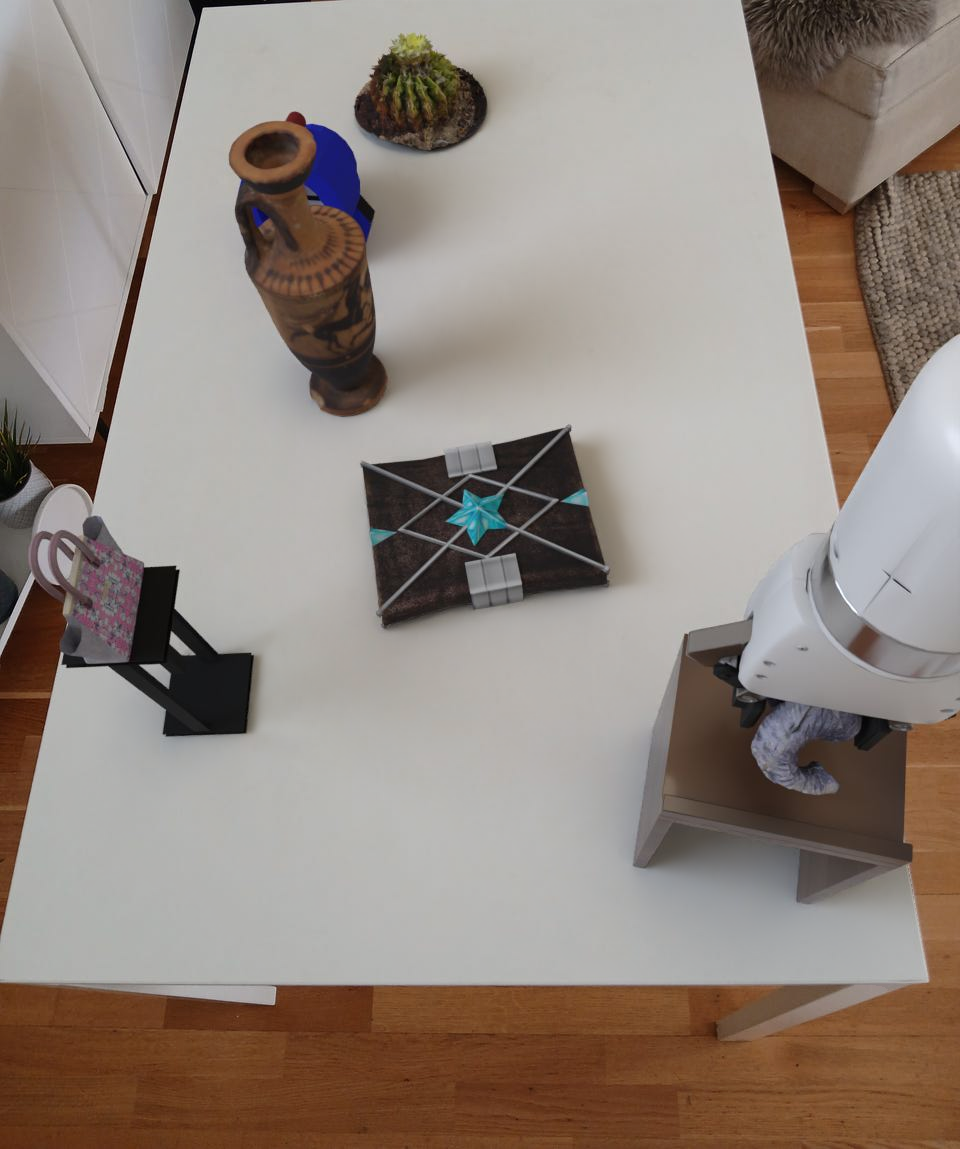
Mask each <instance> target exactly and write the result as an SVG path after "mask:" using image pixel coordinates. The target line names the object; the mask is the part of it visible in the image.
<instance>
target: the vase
mask: <svg viewBox="0 0 960 1149" xmlns="http://www.w3.org/2000/svg"><path fill="white" fill-rule="evenodd" d="M316 148H317V145H316V142H315V141H314V139H313V135H312V133H311V132H310V131H309V130H307V128H305V127H303V126H301V125H298V124H295V123H292V122H288V121H285V120H271V121H265V122H260V123H258V124H255V125H254V126H252V127H250V128H248V129H246V130H245V131H243V132H242V133H241V134H240V135H239V136H237V138H236V139H235V140H234V141H233V142H232V144H231V145H230V149H229V153H228V165H229V166H230V168H231V170H232V171H233V173H234V174H235V175H236V176H237V177H238V178H239V179H240V181H241V180H242V181H243V183H242V185H241V187H240V186H239V187H240V189H239V188H238V191H239V192H238V191H237V196H236V201H235V205H234V218H235V220H236V223H237V225H238V228H239V233H240V235H241V238H242V240H243V243H244V246H245V249H244V265H245V271H246V274H247V276H248V277H249V279H250V281H251V282H252V284H253V285H254V288H255V289H256V291H257V292H258V295H259V297H260V299H261V301H262V302H263V305H264V306H265V309H266V310H267V312H268V314H269V316H270V318H271V320H272V323H273V324H274V326H275V328H276V330H277V332H278V334H279V336H280V337H281V339H282V340H283V342H284V344H285V345H286V347H287V348H288V349H289V351H290V352H291V354H292V355H293V356H294V357H295V358H296V360H298V361H299V362H300V364H301V365H302V366H303V367H304V368H305V369H307V370H308V371H309V372H311V374H310V378H309V384H308V385H309V393H310V397H311V399H313V400H314V401H316V402H317V404H318V405H319V407H320V410H321V411H322V412H325V413H328V414H330V415H333V416H339V417H348V416H354V415H358V414H361V413H364V412H365V411H368V410H370V409H371V408H373V407H374V406H376V404H378V402H379V401H380V400H381V399H382V397H383V396H384V393H385V391H386V389H387V385H388V374H387V370H386V368H385V366H384V364H383V363H382V361H381V359H380V358H379V357H378V356H377V355H376V354H374V349H375V342H376V333H377V317H376V307H375V306H376V305H375V299H374V292H373V285H372V278H371V273H370V268H369V262H368V253H367V242H365V236H364V233H363V231H362V229H361V227H360V225H359V224H358V223H357V221H356V220H355V219H354V218H352V217H351V216H350V215H348V214H347V213H345V212H343V211H342V210H340V209H337V208H334V207H330V206H325V205H309V203H308V199H307V195H306V192H305V187H304V183H305V182H306V181H307V179H308V178H309V176H310V174H311V172H312V169H313V165H314V161H315V156H316ZM252 207H255V208H257V209H259V210H261V211H263V212H264V213H265V214H266V215H267V216H268V217H269V219H267V220H266V221H265V222H264V223H263V224H262V225H261V226H259V227H258V226H257V225H256V223H255V220H254V215H253V210H252Z"/></svg>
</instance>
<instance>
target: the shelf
mask: <svg viewBox="0 0 960 1149" xmlns="http://www.w3.org/2000/svg"><path fill="white" fill-rule="evenodd" d="M688 635H689V633H684V635H683V638H682V641H681V644H680V646H679V649H678V652H677V656H676V658H675V662H674V664H673V668H672V670H671V672H670V676H669V679H668V683H667V685H666V688H665V691H664V694H663V697H662V700H661V703H660V706H659V709H658V712H657V715H656V718H655V721H654V723H653V726H652V733H651V740H650V747H649V753H648V760H647V768H646V772H645V773H646V775H645V780H644V788H643V795H642V800H641V808H640V813H639V814H640V815H639V821H638V828H637V833H636V841H635V848H634V849H635V850H634V855H633V860H632V866H633V867H635V868H639V869H646V867H647V865H648V864H649V862H650V861H651V859H652V858H653V856H654V854H655V853H656V851H657V849H658V847H659V846H660V844H661V842H662V841H663V840H664V837H665V836H666V835H667V833H668V831H669V829H670V828H671V826H672V825H673V823H674V824H675V823H676V824H680V825H685V826H690V827H694V828H699V829H703V830H709V831H714V832H718V833H723V834H729V835H733V836H738V837H742V838H747V839H752V840H758V841H761V842H765V843H766V842H767V843H771V844H776V845H781V846H785V847H789V848H795V849H799V859H798V874H797V885H796V898H795V899H796V900H795V901H796V903H798V904H799V903H800V904H804V905H810V904H813V903H816V902H818V901H820V900H823V899H825V898H827V897H831V896H833V895H834V894H837V893H839V892H842V891H844V890H847V889H850V888H852V887H854V886H857V885H859V884H862V883H864V882H866V881H869V880H871V879H874V878H876V877H879V876H881V875H883V874H885V873H888V872H891V871H894V870H897V869H898V868H901V867H903V866H905V865H908V864H911V863H912V862H913V855H914V854H913V853H914V845H913V844H912V843H908V842H904V840H905V814H906V813H905V810H906V778H907V749H908V745H907V744H908V731H898V730H893V731H892V732H890V733H889V734H888V735H887V736H885V737H884V738H883V739H882V740H881V741H879V742H878V743H877V744H876V745H875V746H874V747H872V748H871V749H870V750H869V751H864V750H858V749H857V747H855V746H854V737H853V738H852V739H851V740H848V741H845V742H840V743H831V742H826V741H825V740H821V739H817V740H811V741H810V742H807V743H805V746H804V747H803V748H799V750H798V752H797V755H798V761H797V765H798V766H802V767H804V766H808V764H809V763H810V761H815V762H820V763H821V765H822V766H823V768H824V770H825V771H826V772H828V773H829V774H830V775H831V776H832V777H833V778H834V779H836V780H837V781H838V783H839V784H840V786H839V788H838V790H837V792H836V793H835V794H832V793H829V794H822V795H813V794H806V793H802V792H799V791H797V790H794V789H788V788H786V787H784V786H782V785H780V784H778V783H776V784H775V783H774V782H773V781H771V780H770V779H768V778H767V777H766V776H765V774H764V773H763V771H762V770H761V768H760V767H759V765H758V762H757V760H756V758H755V757H754V756H753V754H752V750H751V745H752V741H753V739H754V737H755V735H756V733H757V731H758V728H759V726H760V724H761V723H762V721H764V718H765V716H766V715H768V714H770V711H771V707H770V705H769V703H768V700H767V702H766V708H765V711H764V712H763V714H762V715H761V717H760V718H759V720H758V721H757V722H756V724H755V725H754V727H750V729H748V728H742V727H740V718H741V709H742V708H738V707H732V694H733V686H731V685H730V684H728V683H726V682H724V681H723V680H720V679H719V678H718V677H716V676H715V675H713V668H712V667H705V666H704V665H702V664H700V663H698V662H696V661H695V660H693V659H691V658H689V657H688V656H686V650H687V642H688Z"/></svg>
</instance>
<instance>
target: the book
mask: <svg viewBox="0 0 960 1149" xmlns="http://www.w3.org/2000/svg"><path fill="white" fill-rule="evenodd" d="M571 432H572V425H571V424H570V423H568V424H567V425H565V427H560V428H557V429H554V430H549V431H545V432H542V433H537V434H533V435H529V436H525V437H522V438H518V439H513V440H509V441H505V442H500V443H495V444H493V442H492V440H489V441H483V442H478V443H477V442H476V443H473V444H466V445H461V446H457V447H456V446H455V447H451V448H446V449H443V453H444V454H442V455H438V456H431V457H427V458H421V459H413V460H412V459H410V460H400V461H391V462H380V463H368V462H366V461H364V460H360V461H359V465H360V468H362V475H363V483H364V492H365V499H366V508H367V516H368V517H367V518H368V523H369V530H368V534H369V538H370V542H371V548H372V558H373V564H374V574H375V583H376V584H375V585H376V592H377V602H378V603H377V604H378V609H377V610H376V611H375V614H376V615H377V617H378V618H381V622H382V623H380V625H381V627H382V629H384V630H386V629H388V627H389V626H390V625H393V624H396V623H400V622H403V621H407V620H410V619H414V618H417V617H420V616H424V615H428V614H430V613H434V612H437V611H441V610H445V609H447V608H453V607H459V606H464V605H470V604H472V607H473V610H474V611H475V610H481V609H485V608H491V607H497V606H502V605H508V604H513V603H517V602H522V601H523V602H524V596H525V595H531V594H537V593H542V592H543V593H544V592H551V591H561V590H569V589H580V588H587V587H596V586H597V587H598V586H603V587H605V588H609V587H610V585H611V580H610V579H608V576H609V574H610V572H611V567H609V566H607V565H606V563H605V560H604V555H603V552H602V549H601V545H600V542H599V538H598V534H597V531H596V527H595V523H594V520H593V516H592V513H591V512H592V511H591V509H590V508H591V507H590V504H589V497H588V491H587V490H586V488H585V486H584V483H583V482H584V481H583V478H582V475H581V471H580V467H579V464H578V460H577V456H576V452H575V449H574V445H573V441H572V437H571Z"/></svg>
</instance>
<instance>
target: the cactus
mask: <svg viewBox="0 0 960 1149" xmlns="http://www.w3.org/2000/svg"><path fill="white" fill-rule="evenodd" d="M397 37H398V38H396V39H394V40H393V39H390V41H391V45H390V46H389V47H388V50H389V53H387V54H384V53H382V54H381V56H380V57H381V58H380V57H378V60H377V61H376V62H377V64H375V65H371V68H370V70H373V73H369V74H367V76H368V77H369V78H370V80H368V82H366V83H365V84H364V86H363V87H362V88H361V89H360V91H359V92H358V94H357V95H356V97H355V100H354V105H353V108H354V117H355V120H356V122H357V123H358V125H359V126H360V127H361V128H362V129H363V130H365V132H367V133H369V134H373V135H374V136H376V138H378V139H381V140H385V141H390V142H392V143H396V144H397V145H398V144H401V145H403V146H404V145H408V146H409V147H410V148H413V147H415V146H416V147H417V149H421V150H424V151H431V150H433V149H436V148H440V147H441V148H442V147H448V146H449V145H451V144H455V143H459V142H460V141H461V140H462V139H464V138H469V137H471V136H472V135H473V134H474V133H475V132H476V130H477V128H478V127H479V126H480V125H481V124H482V123H483V121H484V119H485V117H486V114H487V110H488V99H487V96H486V93H485V90H484V88H483V86H482V85H481V84H480V82H479V80H477V79H476V78H475V77H474V73H470V71H467V70H466V69H465V68H461V67H458V65H455V64H453V63H452V61H451V60H449V58H446V56H447V54H444V53H441V52H439V53H438V50H437V49H436V50H433V47H434V45H433V44H431V43H432V40H428V38H427V35H426V34H424V35H422V33H420V34H419V35H417V34H416V33H415V32H411V33H410V34H408V33H405V35H404V34H403V33H399V35H397Z"/></svg>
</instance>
